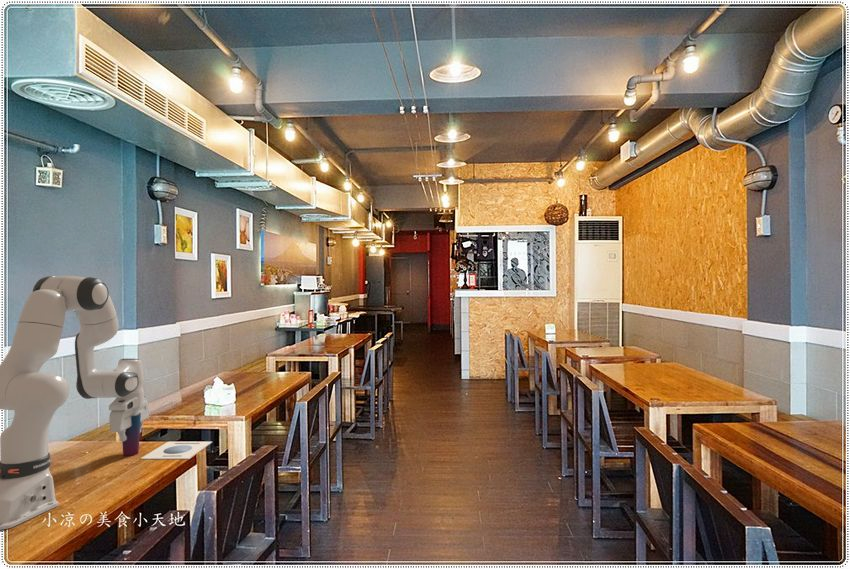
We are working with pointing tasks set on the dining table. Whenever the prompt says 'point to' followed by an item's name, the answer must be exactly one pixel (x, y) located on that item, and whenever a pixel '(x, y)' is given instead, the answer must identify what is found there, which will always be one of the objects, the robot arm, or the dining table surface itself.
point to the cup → (132, 437)
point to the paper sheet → (176, 450)
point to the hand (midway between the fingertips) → (131, 437)
